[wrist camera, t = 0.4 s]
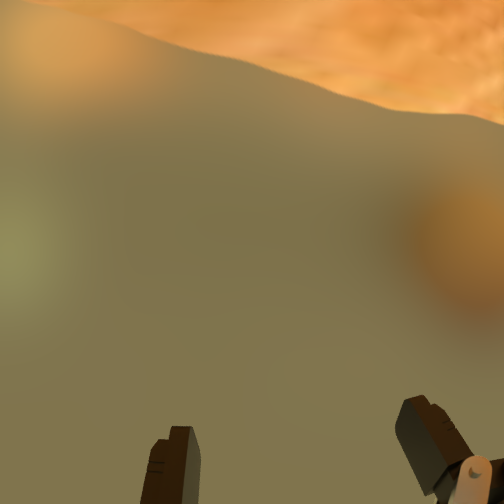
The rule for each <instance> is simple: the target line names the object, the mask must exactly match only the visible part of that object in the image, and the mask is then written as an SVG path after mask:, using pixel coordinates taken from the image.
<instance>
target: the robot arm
mask: <svg viewBox="0 0 504 504" xmlns="http://www.w3.org/2000/svg"><path fill="white" fill-rule="evenodd" d="M395 432H396V436H397V438H398V440H399V442H400V444H401V446H402V449H403V451H404V453H405V455H406V457H407V459H408V461H409V463H410V465H411V467H412V469H413V471H414V474H415V475H416V478H417V480H418V482H419V484H420V487H421V489H422V491H423V493H424V495H425V496H427V495H430V494H432V493H435V495H436V499H435V500H434V503H433V504H504V458H503V459H497V460H492V461H488V460H487V459H486V458H484V457H481V456H475V455H474V454H473V453H472V452H471V450H470V449H469V447H468V446H467V444H466V442H465V441H464V439H463V438H462V436H461V435H460V433H459V432H458V430H457V429H456V428H455V425H454V424H453V422H452V421H450V418H449V416H448V415H447V414H446V412H445V411H444V410H443V409H442V408H440V407H439V406H438V405H436V404H432V405H430V403H429V402H428V400H427V399H426V397H425V396H424V395H419V396H416V397H412V398H409V399H406V400H404V402H403V405H402V408H401V410H400V413H399V416H398V418H397V421H396V424H395ZM200 465H201V456H200V449H199V446H198V443H197V439H196V436H195V433H194V430H193V427H191V426H172V427H171V430H170V435H169V440H165V439H159V440H158V441H157V442H156V443H155V445H154V446H153V447H152V449H151V452H150V456H149V463H148V466H147V473H146V476H145V481H144V486H143V491H142V496H141V501H140V504H198V496H199V480H200Z"/></svg>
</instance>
